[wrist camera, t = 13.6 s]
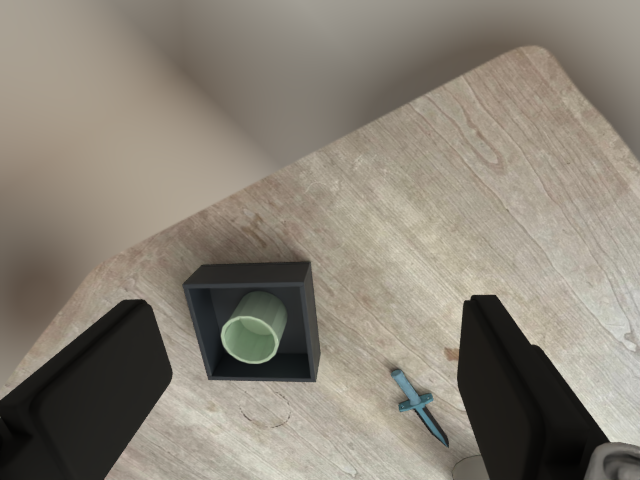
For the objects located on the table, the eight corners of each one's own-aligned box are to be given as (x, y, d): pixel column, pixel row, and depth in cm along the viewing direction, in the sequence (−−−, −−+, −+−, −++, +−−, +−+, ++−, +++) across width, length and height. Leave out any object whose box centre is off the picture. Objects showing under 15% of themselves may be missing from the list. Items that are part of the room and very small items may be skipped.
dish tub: (201, 264, 42) (181, 284, 38) (310, 261, 40) (303, 281, 36) (223, 353, 48) (208, 380, 43) (320, 354, 46) (316, 382, 41)
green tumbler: (232, 291, 43) (215, 316, 38) (284, 290, 42) (273, 315, 37) (242, 334, 45) (227, 363, 40) (290, 334, 44) (281, 364, 39)
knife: (466, 447, 48) (434, 456, 50) (463, 439, 49) (432, 449, 51) (412, 370, 43) (378, 383, 44) (410, 363, 44) (377, 376, 45)
